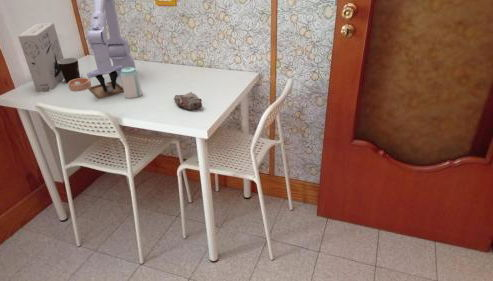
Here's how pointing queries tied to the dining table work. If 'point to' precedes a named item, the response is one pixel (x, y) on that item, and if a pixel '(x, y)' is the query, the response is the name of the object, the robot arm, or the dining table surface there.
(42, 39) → the cereal box
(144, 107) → the dining table surface
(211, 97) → the dining table surface
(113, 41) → the robot arm
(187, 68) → the dining table surface
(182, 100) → the mineral rock
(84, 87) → the bowl
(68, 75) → the coffee mug
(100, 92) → the tray
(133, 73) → the can
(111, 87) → the pebble
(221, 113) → the dining table surface
